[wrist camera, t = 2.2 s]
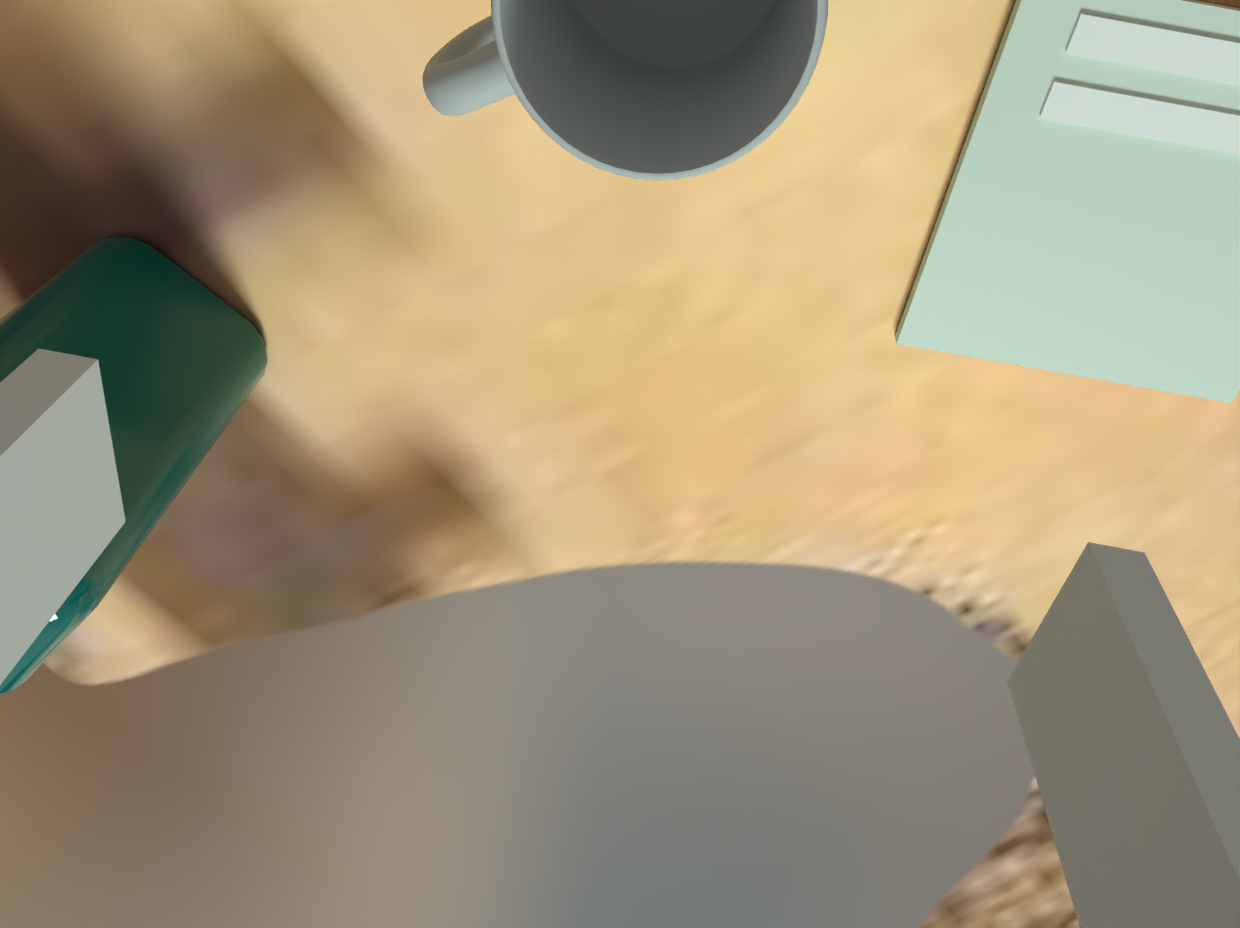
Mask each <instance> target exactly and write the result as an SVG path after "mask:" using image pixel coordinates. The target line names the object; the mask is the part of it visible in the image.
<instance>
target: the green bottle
mask: <svg viewBox="0 0 1240 928" xmlns="http://www.w3.org/2000/svg"><path fill="white" fill-rule="evenodd" d="M38 349H44V350H49V351H55V352H60V353H66V354H71V355H77V356H82V357H87V358H93V359H98V362H99V368H100V374H101V380H102V386H103V391H104V397H105V403H106V409H107V415H108V421H109V427H110V433H111V439H112V444H113V450H114V456H115V462H116V468H117V474H118V480H119V486H120V492H121V497H122V503H123V509H124V515H125V521H126V522H125V523H124V524H123V526H122V527H121V528H120V530H119V531H118V532H117V534H116V535H115V536H114V537H113V539H112V540H111V541H110V543H109V544H108V545H107V547H106V548H105V549H104V551H103V552H102V553H101V554H100V556H99V557H98V558H97V560H96V561H95V562H94V564H93V565H92V566H91V567H90V569H89V570H88V571H87V573H86V574H85V575H84V577H83V578H82V579H81V581H80V582H79V583H78V584H77V586H76V587H75V588H74V590H73V591H72V592H71V594H70V595H69V596H68V597H67V599H66V600H65V601H64V603H63V604H62V605H61V607H60V608H59V609H58V611H57V612H56V613H55V614H54V616H53V617H52V618H51V620H50V621H49V622H48V624H47V625H46V626H45V627H44V629H43V630H42V631H41V633H40V634H39V635H38V637H37V638H36V639H35V640H34V642H33V643H32V644H31V646H30V647H29V648H28V650H27V651H26V652H25V654H24V655H23V656H22V657H21V659H20V660H19V661H18V663H17V664H16V665H15V667H14V668H13V669H12V670H11V672H10V673H9V674H8V676H7V677H6V678H5V680H4V681H3V682H2V684H1V685H0V694H1V693H5V692H8V691H11V690H13V689H14V688H16V687H17V686H19V685H21V684H22V683H23V682H24V681H26V680H27V679H28V678H29V677H30V676H31V675H32V673H34V671H35V670H36V669H37V668H38V667H39V666H40V665H41V664H42V663H43V662H44V661H45V660H46V659H47V658H48V657H49V656H50V655H51V654H52V653H53V652H54V651H55V650H56V649H57V648H58V647H59V646H60V644H61V643H62V642H63V641H64V640H65V639H66V638H67V637H68V636H69V635H70V634H71V633H72V632H73V631H74V630H75V629H76V628H77V627H78V626H79V625H80V624H81V623H82V622H83V621H84V620H85V618H86V617H87V616H88V615H89V614H90V613H91V612H92V611H93V610H94V609H95V608H96V607H97V606H98V604H99V603H100V602H101V600H102V599H103V597H104V596H105V595H106V593H107V592H108V591H109V589H110V588H111V586H112V585H113V584H114V582H115V581H116V579H117V578H118V577H119V575H120V574H121V572H122V571H123V570H124V568H125V567H126V566H127V564H128V563H129V561H130V560H131V559H132V557H133V556H134V554H135V553H136V552H137V550H138V549H139V547H140V546H141V545H142V543H143V542H144V540H145V539H146V538H147V536H148V535H149V534H150V532H151V531H152V529H153V528H154V527H155V525H156V524H157V522H158V521H159V520H160V518H161V517H162V515H163V514H164V513H165V511H166V510H167V509H168V507H169V506H170V504H171V503H172V502H173V500H174V499H175V497H176V496H177V495H178V493H179V492H180V490H181V489H182V488H183V486H184V485H185V483H186V482H187V481H188V479H189V478H190V477H191V475H192V474H193V472H194V471H195V470H196V468H197V467H198V465H199V464H200V463H201V461H202V460H203V458H204V457H205V456H206V454H207V453H208V452H209V450H210V449H211V447H212V446H213V445H214V443H215V442H216V440H217V439H218V438H219V436H220V435H221V433H222V432H223V431H224V429H225V428H226V426H227V425H228V424H229V422H230V421H231V420H232V418H233V417H234V415H235V414H236V413H237V411H238V410H239V408H240V407H241V406H242V404H243V403H244V401H245V400H246V399H247V397H248V396H249V395H250V393H251V392H252V390H253V389H254V388H255V386H256V385H257V383H258V382H259V381H260V379H261V378H262V376H263V375H264V373H265V368H266V364H267V353H266V349H265V345H264V341H263V338H262V337H261V335H260V334H259V332H258V331H257V329H256V328H255V327H254V325H253V324H252V323H251V322H250V321H248V320H247V319H246V318H244V317H243V316H242V315H241V314H239V313H238V312H237V311H235V310H234V309H233V308H231V307H230V306H229V305H228V304H226V303H225V302H224V301H222V300H221V299H220V298H219V297H217V296H216V295H215V294H213V293H212V292H211V291H210V290H208V289H207V288H206V287H204V286H203V285H202V284H201V283H199V282H198V281H197V280H195V279H194V278H193V277H191V276H190V275H189V274H188V273H186V272H185V271H184V270H182V269H181V268H180V267H179V266H177V265H176V264H175V263H173V262H172V261H171V260H170V259H168V258H167V257H166V256H164V255H163V254H162V253H160V252H159V251H158V250H157V249H155V248H154V247H153V246H151V245H149V244H147V243H144V242H141V241H139V240H136V239H134V238H116V237H108V238H106V239H104V240H101V241H99V242H97V243H94V244H92V245H91V246H90V247H89V248H88V249H86V250H85V251H84V252H83V253H81V254H80V255H79V256H78V257H76V258H75V259H74V260H73V261H72V262H70V263H69V264H68V265H67V266H65V267H64V268H63V269H62V270H61V271H59V272H58V273H57V274H56V275H54V276H53V277H52V278H51V279H49V280H48V281H47V282H46V283H45V284H43V285H42V286H41V287H40V288H38V289H37V290H36V291H35V292H34V293H32V294H31V295H30V296H29V297H27V298H26V299H25V300H24V301H23V302H21V303H20V304H19V305H18V306H16V307H15V308H14V309H13V310H11V311H10V312H9V313H8V314H7V315H5V316H4V317H3V318H2V319H0V382H2V381H3V380H4V379H5V378H6V377H7V376H8V375H9V374H11V373H12V372H13V371H14V370H15V369H16V368H17V367H18V366H20V365H21V364H22V363H23V362H24V361H25V360H26V359H27V358H29V357H30V356H31V355H32V354H33V353H34V352H35V351H36V350H38Z"/></svg>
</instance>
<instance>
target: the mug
mask: <svg viewBox="0 0 1240 928" xmlns="http://www.w3.org/2000/svg"><path fill="white" fill-rule="evenodd" d="M827 16H828V0H491V16H489V17H487V18H485V19H483V20H481V21H480V22H478V23H476V24H474V25H473V26H471V27H469V28H468V29H466V30H464V31H463V32H462V33H460V34H459V35H457V36H456V37H455V38H453V39H452V40H451V41H449V42H448V43H447V44H446V45H445V46H444V47H442V48H441V49H440V50H439V51H438V52H437V53H436V54H435V55H434V56H433V57H432V58H431V59H430V61H429V62H428V63H427V65H426V67H425V70H424V73H423V87H424V91H425V93H426V96H427V98H428V100H429V101H430V103H431V104H432V106H433V107H434V108H435V109H436V110H438V111H439V112H440V113H441V114H443V115H446V116H459V115H463V114H466V113H469V112H472V111H475V110H477V109H480V108H482V107H485V106H487V105H489V104H492V103H494V102H497V101H499V100H501V99H504V98H506V97H509V96H512V95H514V94H516V95H517V97H518V99H519V101H520V102H521V103H522V105H523V106H524V108H525V109H526V110H527V112H528V113H529V115H530V116H531V117H532V119H533V120H534V121H535V122H536V123H537V124H538V125H539V126H540V128H541V129H542V130H543V131H544V132H545V133H546V134H547V135H548V136H549V137H550V138H552V139H553V140H554V141H555V142H556V143H557V144H559V145H560V146H561V147H562V148H564V149H565V150H567V151H568V152H570V153H571V154H573V155H574V156H576V157H577V158H579V159H580V160H582V161H584V162H586V163H588V164H590V165H592V166H594V167H596V168H599V169H602V170H605V171H607V172H610V173H613V174H616V175H621V176H625V177H630V178H635V179H645V180H676V179H681V178H687V177H693V176H697V175H700V174H704V173H707V172H710V171H713V170H716V169H718V168H720V167H723V166H725V165H727V164H729V163H731V162H734V161H735V160H737V159H739V158H740V157H742V156H743V155H745V154H747V153H748V152H750V151H752V150H753V149H754V148H755V147H757V146H758V145H759V144H760V143H762V142H763V141H764V140H765V139H767V138H768V137H769V136H770V135H771V134H772V133H773V132H774V131H775V130H776V129H777V128H778V127H779V125H780V124H781V123H782V122H783V121H784V120H785V119H786V117H787V116H788V115H789V113H790V112H791V111H792V109H793V108H794V107H795V105H796V104H797V102H798V101H799V99H800V97H801V96H802V94H803V92H804V90H805V89H806V87H807V85H808V83H809V81H810V78H811V76H812V74H813V71H814V69H815V67H816V65H817V61H818V58H819V55H820V51H821V48H822V44H823V41H824V35H825V29H826V23H827Z"/></svg>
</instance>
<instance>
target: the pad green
mask: <svg viewBox="0 0 1240 928" xmlns="http://www.w3.org/2000/svg"><path fill="white" fill-rule="evenodd" d="M895 339H896V343H897V344H902V345H908V346H913V347H919V348H924V349H930V350H936V351H941V352H947V353H953V354H958V355H964V356H969V357H975V358H981V359H986V360H992V361H997V362H1003V363H1009V364H1014V365H1020V366H1026V367H1031V368H1037V369H1042V370H1048V371H1054V372H1059V373H1065V374H1070V375H1076V376H1082V377H1087V378H1093V379H1099V380H1104V381H1110V382H1115V383H1121V384H1127V385H1132V386H1138V387H1143V388H1149V389H1155V390H1160V391H1166V392H1172V393H1177V394H1183V395H1188V396H1194V397H1200V398H1205V399H1211V400H1216V401H1222V402H1228V403H1232V402H1233V400H1234V398H1235V397H1236V395H1237V394H1238V392H1239V390H1240V8H1236V7H1230V6H1225V5H1220V4H1214V3H1209V2H1203V1H1198V0H1016V1H1015V4H1014V7H1013V10H1012V12H1011V15H1010V18H1009V21H1008V24H1007V26H1006V29H1005V32H1004V35H1003V37H1002V40H1001V43H1000V46H999V49H998V51H997V54H996V57H995V60H994V62H993V65H992V68H991V71H990V74H989V76H988V79H987V82H986V85H985V87H984V90H983V93H982V96H981V99H980V101H979V104H978V107H977V110H976V112H975V115H974V118H973V121H972V123H971V126H970V129H969V132H968V135H967V137H966V140H965V143H964V146H963V148H962V151H961V154H960V157H959V160H958V162H957V165H956V168H955V171H954V173H953V176H952V179H951V182H950V185H949V187H948V190H947V193H946V196H945V198H944V201H943V204H942V207H941V210H940V212H939V215H938V218H937V221H936V223H935V226H934V229H933V232H932V235H931V237H930V240H929V243H928V246H927V248H926V251H925V254H924V257H923V259H922V262H921V265H920V268H919V271H918V273H917V276H916V279H915V282H914V284H913V287H912V290H911V293H910V296H909V298H908V301H907V304H906V307H905V309H904V312H903V315H902V318H901V321H900V323H899V326H898V329H897V332H896V334H895Z"/></svg>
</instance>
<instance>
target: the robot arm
mask: <svg viewBox="0 0 1240 928" xmlns="http://www.w3.org/2000/svg"><path fill="white" fill-rule="evenodd" d="M125 522H126V521H125V515H124V509H123V503H122V497H121V492H120V486H119V480H118V474H117V468H116V462H115V456H114V450H113V444H112V439H111V433H110V427H109V421H108V415H107V409H106V403H105V397H104V391H103V386H102V380H101V374H100V368H99V362H98V359H93V358H87V357H82V356H77V355H71V354H66V353H60V352H55V351H49V350H44V349H38V350H36V351H35V352H34V353H33V354H32V355H31V356H30V357H29V358H27V359H26V360H25V361H24V362H23V363H22V364H21V365H20V366H18V367H17V368H16V369H15V370H14V371H13V372H12V373H11V374H9V375H8V376H7V377H6V378H5V379H4V380H3V381H2V382H0V685H1V684H2V682H3V681H4V680H5V678H6V677H7V676H8V674H9V673H10V672H11V670H12V669H13V668H14V667H15V665H16V664H17V663H18V661H19V660H20V659H21V657H22V656H23V655H24V654H25V652H26V651H27V650H28V648H29V647H30V646H31V644H32V643H33V642H34V640H35V639H36V638H37V637H38V635H39V634H40V633H41V631H42V630H43V629H44V627H45V626H46V625H47V624H48V622H49V621H50V620H51V618H52V617H53V616H54V614H55V613H56V612H57V611H58V609H59V608H60V607H61V605H62V604H63V603H64V601H65V600H66V599H67V597H68V596H69V595H70V594H71V592H72V591H73V590H74V588H75V587H76V586H77V584H78V583H79V582H80V581H81V579H82V578H83V577H84V575H85V574H86V573H87V571H88V570H89V569H90V567H91V566H92V565H93V564H94V562H95V561H96V560H97V558H98V557H99V556H100V554H101V553H102V552H103V551H104V549H105V548H106V547H107V545H108V544H109V543H110V541H111V540H112V539H113V537H114V536H115V535H116V534H117V532H118V531H119V530H120V528H121V527H122V526H123V524H124V523H125ZM1007 682H1008V685H1009V689H1010V691H1011V695H1012V699H1013V702H1014V705H1015V709H1016V712H1017V716H1018V719H1019V722H1020V726H1021V729H1022V733H1023V736H1024V739H1025V743H1026V746H1027V749H1028V753H1029V756H1030V759H1031V763H1032V766H1033V770H1034V773H1035V777H1036V780H1037V783H1038V787H1039V790H1040V794H1041V797H1042V800H1043V804H1044V807H1045V810H1046V814H1047V817H1048V821H1049V824H1050V827H1051V831H1052V834H1053V838H1054V841H1055V844H1056V848H1057V851H1058V855H1059V858H1060V861H1061V865H1062V868H1063V871H1064V875H1065V878H1066V882H1067V885H1068V888H1069V892H1070V895H1071V899H1072V902H1073V905H1074V909H1075V912H1076V916H1077V919H1078V922H1079V926H1080V928H1240V739H1239V737H1238V735H1237V733H1236V731H1235V729H1234V727H1233V725H1232V723H1231V721H1230V719H1229V717H1228V715H1227V713H1226V711H1225V710H1224V708H1223V706H1222V704H1221V702H1220V700H1219V698H1218V696H1217V694H1216V692H1215V690H1214V688H1213V686H1212V684H1211V682H1210V680H1209V678H1208V676H1207V674H1206V672H1205V670H1204V668H1203V666H1202V664H1201V662H1200V660H1199V659H1198V657H1197V655H1196V653H1195V651H1194V649H1193V647H1192V645H1191V643H1190V641H1189V639H1188V637H1187V635H1186V633H1185V631H1184V629H1183V627H1182V625H1181V623H1180V621H1179V619H1178V617H1177V615H1176V613H1175V611H1174V609H1173V607H1172V606H1171V604H1170V602H1169V600H1168V598H1167V596H1166V594H1165V592H1164V590H1163V588H1162V586H1161V584H1160V582H1159V580H1158V578H1157V576H1156V574H1155V572H1154V570H1153V568H1152V566H1151V564H1150V562H1149V560H1148V558H1147V556H1146V555H1145V553H1144V552H1138V551H1133V550H1127V549H1122V548H1116V547H1111V546H1106V545H1100V544H1095V543H1089V542H1088V544H1087V545H1086V547H1085V549H1084V551H1083V552H1082V554H1081V556H1080V557H1079V559H1078V561H1077V563H1076V564H1075V566H1074V568H1073V569H1072V571H1071V573H1070V575H1069V576H1068V578H1067V580H1066V581H1065V583H1064V585H1063V586H1062V588H1061V590H1060V592H1059V593H1058V595H1057V597H1056V598H1055V600H1054V602H1053V604H1052V605H1051V607H1050V609H1049V610H1048V612H1047V614H1046V616H1045V617H1044V619H1043V621H1042V622H1041V624H1040V626H1039V628H1038V629H1037V631H1036V633H1035V634H1034V636H1033V638H1032V640H1031V641H1030V643H1029V645H1028V646H1027V648H1026V650H1025V651H1024V653H1023V655H1022V657H1021V658H1020V660H1019V662H1018V663H1017V665H1016V667H1015V669H1014V671H1013V672H1012V674H1011V675H1010V677H1009V679H1008V681H1007Z"/></svg>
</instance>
